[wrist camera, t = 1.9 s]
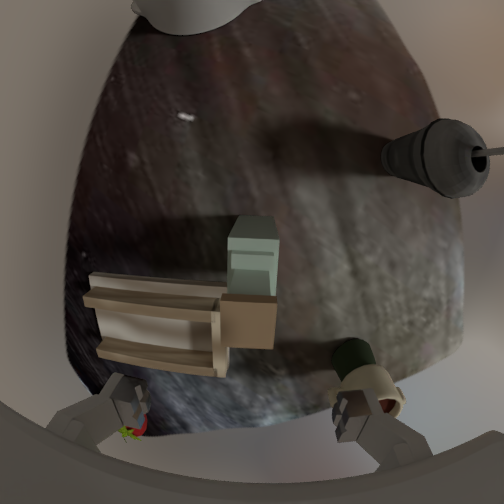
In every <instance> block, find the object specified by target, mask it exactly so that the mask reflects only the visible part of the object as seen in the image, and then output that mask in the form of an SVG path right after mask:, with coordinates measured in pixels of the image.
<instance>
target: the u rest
mask: <svg viewBox="0 0 504 504" xmlns="http://www.w3.org/2000/svg"><path fill="white" fill-rule="evenodd" d="M89 281H90V287H91V290H90V291H89V292H87V293H86V294H85V295H84V296H83V300H84V304H85V307H91V308H95V312H96V316H97V320H98V324H99V329H100V332H101V336H102V340H103V341H102V342H101V344H100V345H99V346H98V347H97V348H96V350H97V353H98V357H101V358H105V359H109V360H114V361H118V362H123V363H127V364H132V365H137V366H143V367H148V368H154V369H160V370H166V371H173V372H180V373H187V374H195V375H204V376H214V377H225V376H226V371H227V369H228V367H229V347H223V346H221V336H220V299H221V296H222V293H227V282H213V281H197V280H183V279H169V278H157V277H144V276H133V275H122V274H111V273H101V272H93V273H91V274H90V275H89Z"/></svg>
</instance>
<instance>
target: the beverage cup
mask: <svg viewBox="0 0 504 504" xmlns="http://www.w3.org/2000/svg"><path fill="white" fill-rule="evenodd" d="M503 154H504V147H501V148H493V149H487V147H486V144H485V143H484V141H483V139H482V138H481V136H480V135H479V134H478V133H477V132H476V131H475V130H474V129H473V128H472V127H471V126H469V125H467V124H465V123H463V122H461V121H458V120H451V119H437V120H435V121H433V122H431V123H430V125H428V126H426V127H424V128H423V129H421V130H419V131H416V132H413V133H411V134H408V135H405V136H403V137H400V138H397V139H395V140H393V141H391V142H389V143H387V144H386V145H385V146H384V147H383V150H382V152H381V161H382V165H383V167H384V169H385V170H386V171H387V172H388V173H389V174H391V175H392V176H396V177H397V178H401V179H404V180H407V181H411V182H414V183H417V184H420V185H423V186H426V187H429V188H431V189H432V190H434V191H435V192H437V193H439V194H440V195H442V196H444V197H447V198H451V199H452V198H460V197H466V196H470V195H472V194H473V193H475V192H476V191H478V190H479V189H480V188H481V187H482V186H483V184H484V183H485V181H486V179H487V177H488V174H489V169H490V168H489V167H490V159H489V156H491V155H503Z"/></svg>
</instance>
